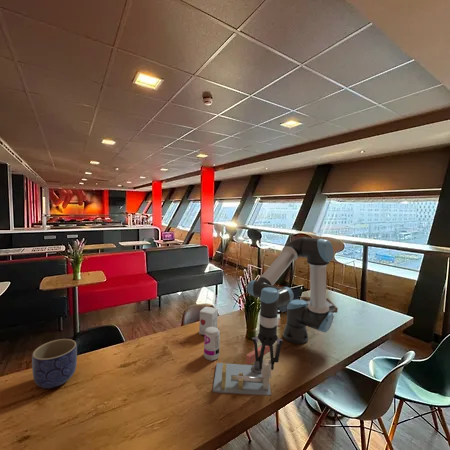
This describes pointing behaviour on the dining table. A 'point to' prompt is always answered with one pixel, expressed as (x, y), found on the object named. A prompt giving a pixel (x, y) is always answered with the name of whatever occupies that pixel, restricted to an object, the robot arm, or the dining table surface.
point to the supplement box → (207, 318)
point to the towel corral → (326, 300)
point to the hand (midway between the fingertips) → (265, 375)
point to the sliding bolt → (255, 379)
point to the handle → (251, 356)
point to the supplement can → (211, 343)
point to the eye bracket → (240, 383)
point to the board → (233, 386)
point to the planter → (54, 363)
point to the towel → (331, 306)
